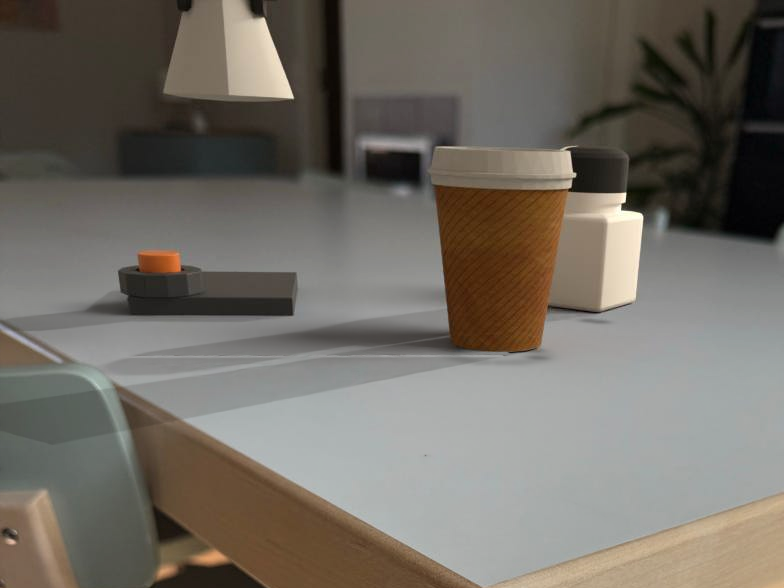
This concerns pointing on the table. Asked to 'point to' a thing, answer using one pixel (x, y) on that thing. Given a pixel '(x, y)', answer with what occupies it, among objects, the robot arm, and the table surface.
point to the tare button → (159, 261)
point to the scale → (209, 292)
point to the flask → (225, 55)
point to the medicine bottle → (597, 235)
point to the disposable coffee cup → (499, 240)
